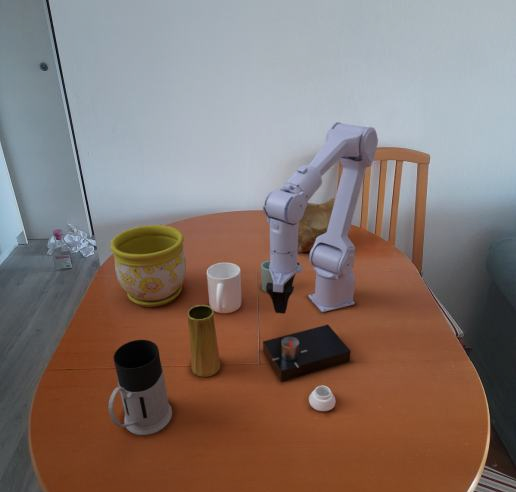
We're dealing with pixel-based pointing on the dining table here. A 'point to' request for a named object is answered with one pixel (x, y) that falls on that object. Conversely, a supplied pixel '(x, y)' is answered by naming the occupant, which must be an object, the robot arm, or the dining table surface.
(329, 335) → the hob
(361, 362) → the dining table surface
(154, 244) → the flowerpot
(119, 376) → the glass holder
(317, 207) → the rough brown rock
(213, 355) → the vase
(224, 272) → the mug
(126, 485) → the dining table surface
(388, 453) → the dining table surface
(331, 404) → the white jar
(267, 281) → the cup
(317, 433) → the dining table surface
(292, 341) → the hob knob
